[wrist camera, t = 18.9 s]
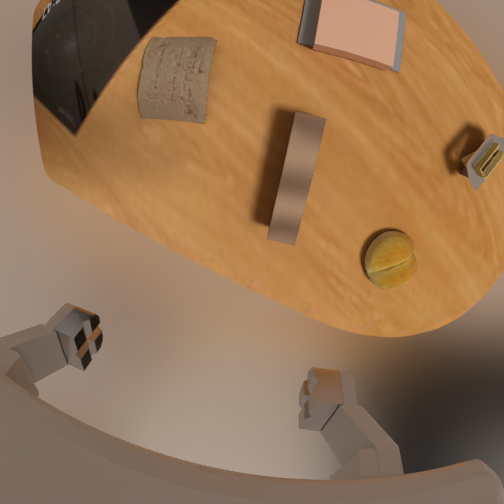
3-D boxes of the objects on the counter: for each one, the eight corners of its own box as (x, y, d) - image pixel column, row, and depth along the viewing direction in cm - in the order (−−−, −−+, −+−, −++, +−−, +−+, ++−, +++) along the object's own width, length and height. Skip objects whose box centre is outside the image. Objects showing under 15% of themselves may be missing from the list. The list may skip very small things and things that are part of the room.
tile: (312, 49, 29) (321, -3, 25) (385, 70, 29) (392, 18, 25) (314, 43, 26) (324, -12, 23) (393, 67, 26) (399, 11, 22)
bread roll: (407, 222, 38) (417, 231, 34) (414, 272, 41) (424, 285, 37) (357, 238, 40) (363, 250, 36) (368, 288, 43) (375, 302, 39)
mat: (308, -16, 25) (308, -17, 24) (405, 13, 24) (405, 12, 24) (297, 43, 29) (297, 42, 29) (398, 72, 29) (399, 72, 29)
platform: (413, 161, 34) (434, 169, 28) (476, 89, 27) (501, 87, 21) (454, 218, 36) (476, 233, 31) (511, 147, 30) (536, 154, 24)
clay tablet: (153, 35, 30) (145, 31, 28) (221, 32, 30) (217, 26, 27) (142, 126, 37) (133, 127, 34) (208, 129, 36) (202, 129, 34)
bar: (294, 113, 34) (295, 111, 29) (320, 119, 34) (326, 119, 29) (269, 225, 41) (267, 239, 36) (293, 231, 41) (294, 245, 36)
